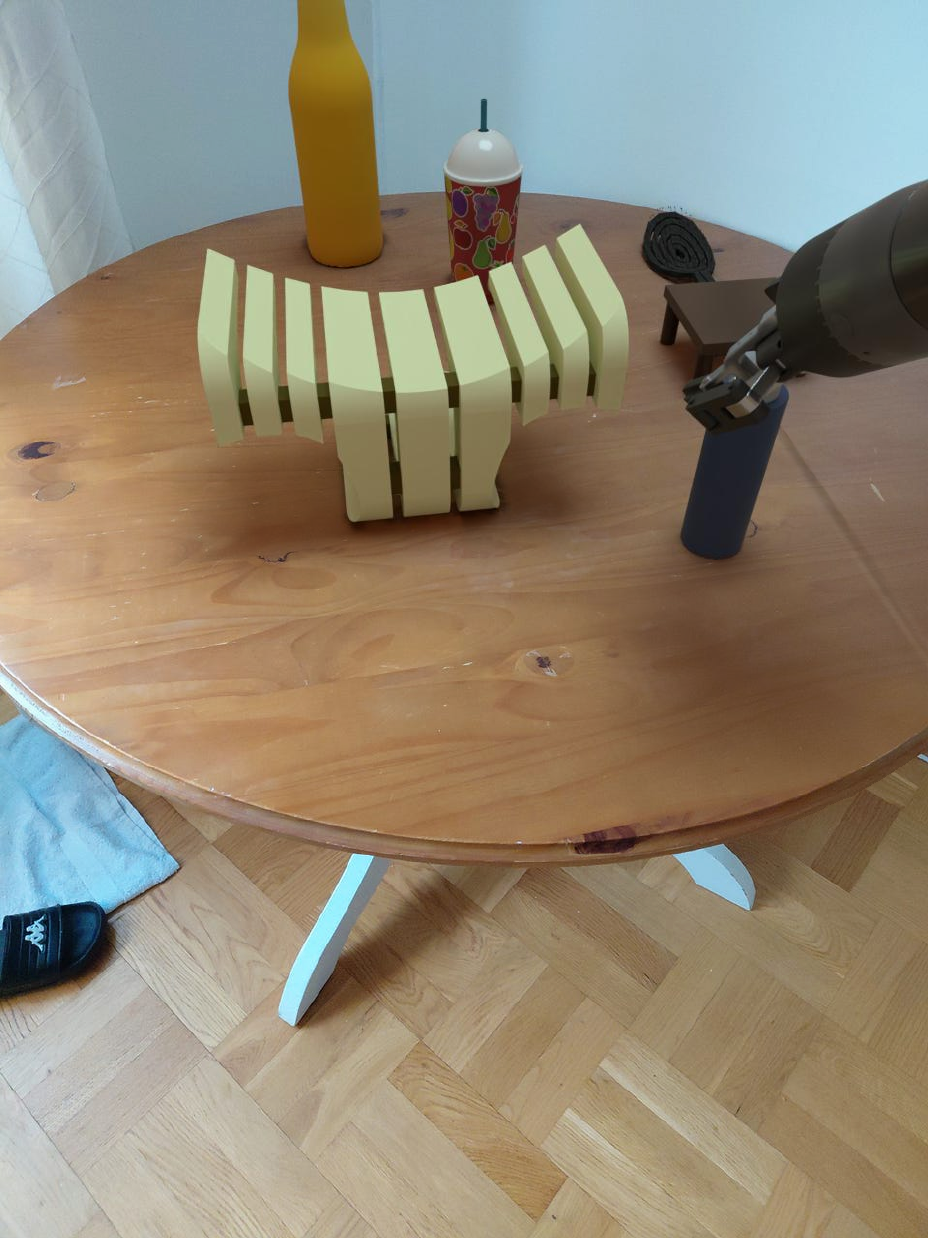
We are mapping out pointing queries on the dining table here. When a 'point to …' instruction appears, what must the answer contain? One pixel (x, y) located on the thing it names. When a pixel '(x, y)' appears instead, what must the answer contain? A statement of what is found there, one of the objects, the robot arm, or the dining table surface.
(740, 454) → the thermos flask
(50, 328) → the dining table surface
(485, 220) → the smoothie
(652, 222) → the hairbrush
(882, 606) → the dining table surface
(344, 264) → the beer bottle
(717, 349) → the side table
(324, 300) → the slatted curved stool
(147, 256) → the dining table surface
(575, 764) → the dining table surface
